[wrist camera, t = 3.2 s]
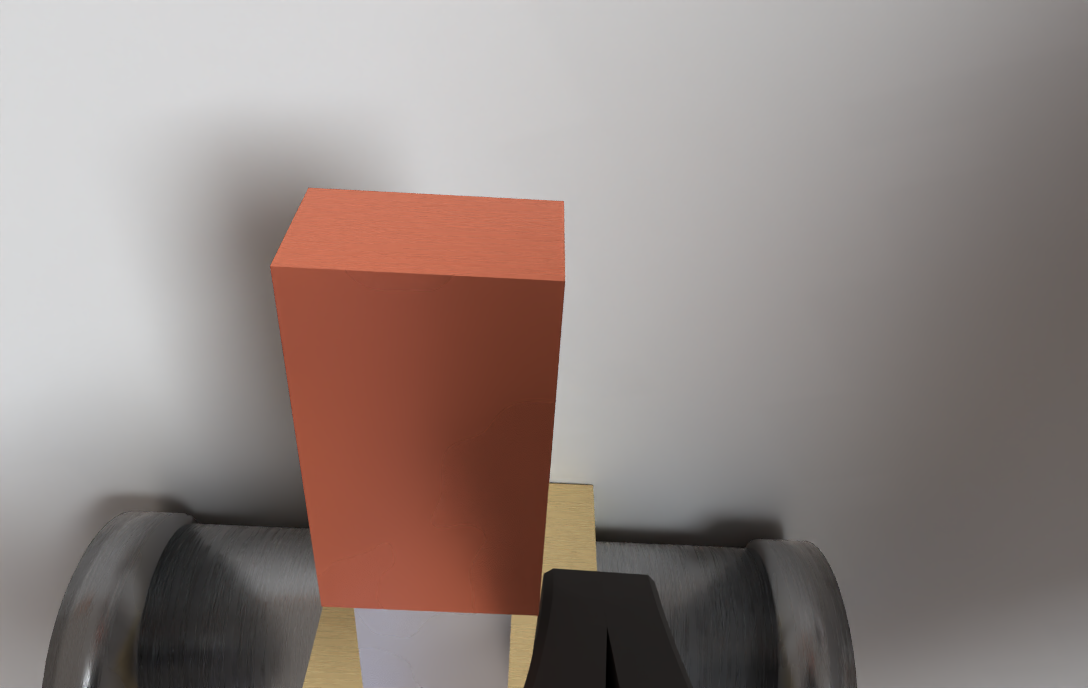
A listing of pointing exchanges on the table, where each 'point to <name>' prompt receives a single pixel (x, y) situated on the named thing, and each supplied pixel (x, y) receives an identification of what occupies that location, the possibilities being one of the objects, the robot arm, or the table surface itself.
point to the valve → (330, 632)
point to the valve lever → (424, 418)
